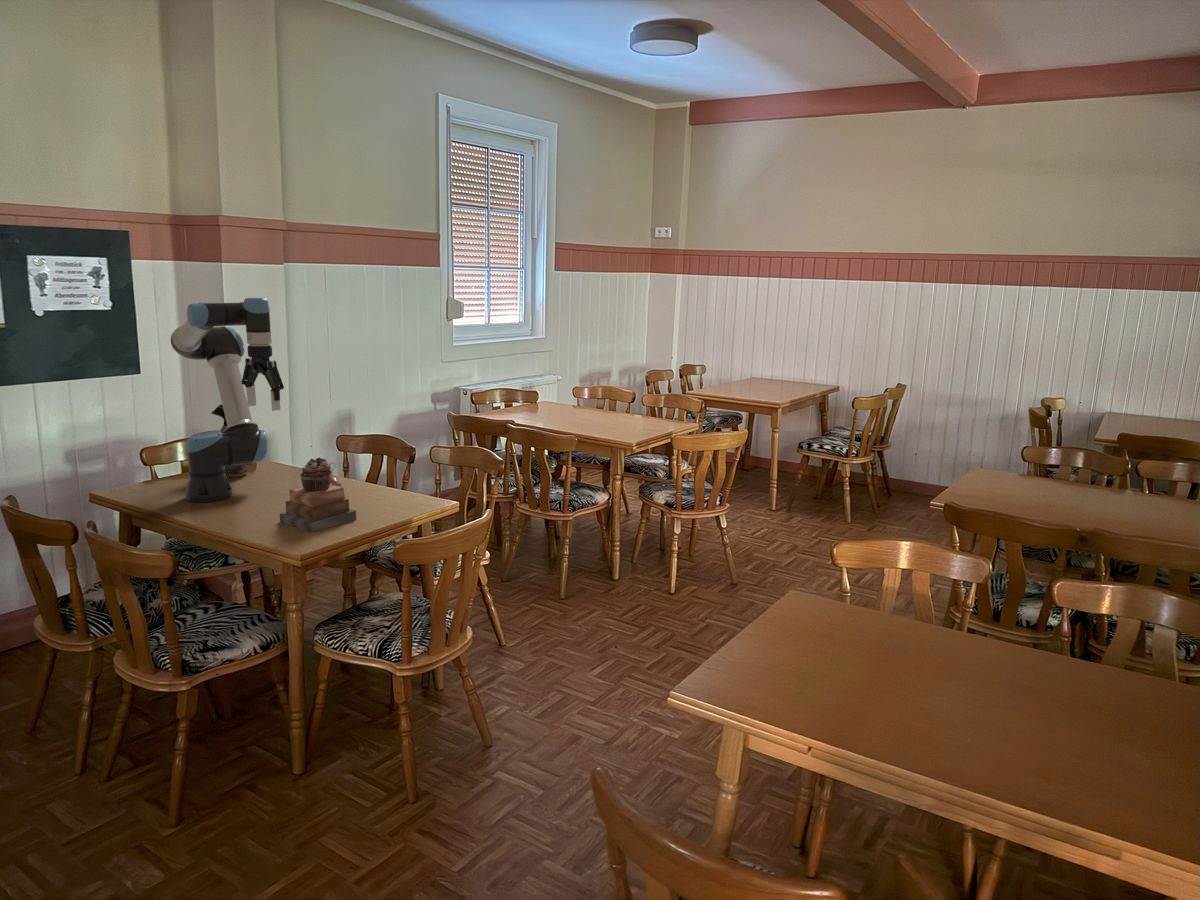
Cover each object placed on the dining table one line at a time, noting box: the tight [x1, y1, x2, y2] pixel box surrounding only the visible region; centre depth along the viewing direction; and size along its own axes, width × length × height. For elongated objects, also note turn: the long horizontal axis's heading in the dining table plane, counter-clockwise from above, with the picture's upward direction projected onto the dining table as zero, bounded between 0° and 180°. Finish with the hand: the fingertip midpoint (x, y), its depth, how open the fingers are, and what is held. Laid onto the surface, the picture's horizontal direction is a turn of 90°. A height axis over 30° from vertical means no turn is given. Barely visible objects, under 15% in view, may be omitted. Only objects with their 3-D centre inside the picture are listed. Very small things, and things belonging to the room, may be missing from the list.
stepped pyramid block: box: [279, 483, 357, 533], centre depth 270 cm, size 17×17×11 cm
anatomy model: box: [328, 462, 346, 498], centre depth 297 cm, size 11×15×17 cm
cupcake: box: [299, 457, 332, 492], centre depth 268 cm, size 10×10×10 cm
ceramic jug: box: [210, 404, 252, 478], centre depth 324 cm, size 17×15×30 cm
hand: (264, 408), depth 278 cm, fingers open, 13 cm apart
